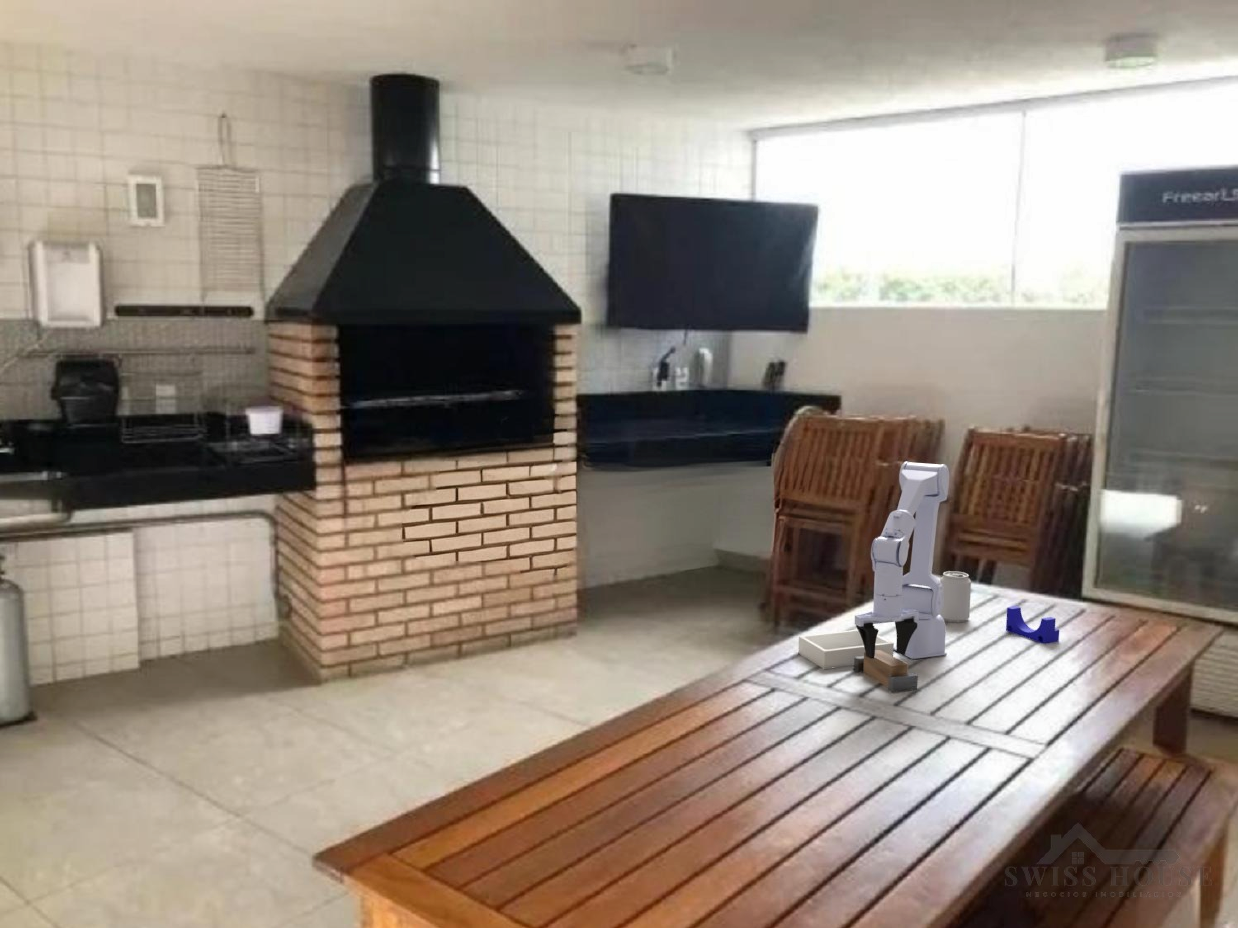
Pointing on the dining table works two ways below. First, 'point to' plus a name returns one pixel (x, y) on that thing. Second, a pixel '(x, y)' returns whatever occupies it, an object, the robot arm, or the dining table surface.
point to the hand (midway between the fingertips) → (885, 655)
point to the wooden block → (883, 667)
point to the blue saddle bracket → (1019, 627)
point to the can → (956, 596)
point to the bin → (838, 648)
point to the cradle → (892, 678)
